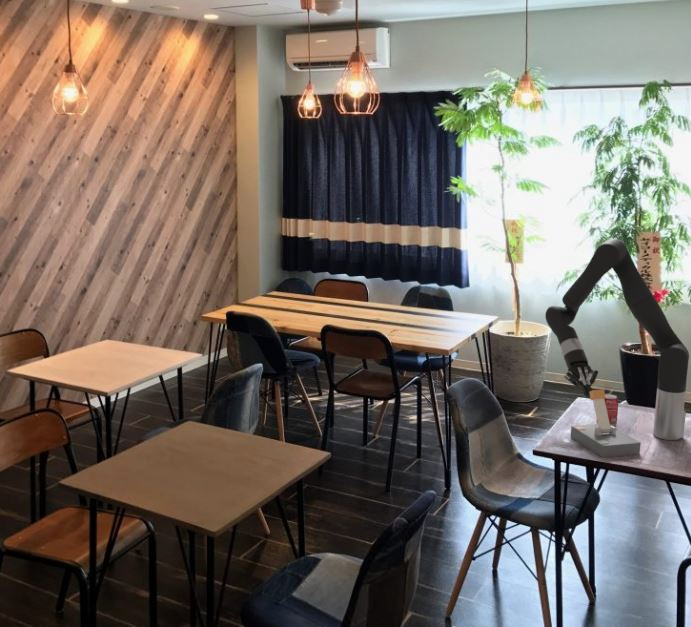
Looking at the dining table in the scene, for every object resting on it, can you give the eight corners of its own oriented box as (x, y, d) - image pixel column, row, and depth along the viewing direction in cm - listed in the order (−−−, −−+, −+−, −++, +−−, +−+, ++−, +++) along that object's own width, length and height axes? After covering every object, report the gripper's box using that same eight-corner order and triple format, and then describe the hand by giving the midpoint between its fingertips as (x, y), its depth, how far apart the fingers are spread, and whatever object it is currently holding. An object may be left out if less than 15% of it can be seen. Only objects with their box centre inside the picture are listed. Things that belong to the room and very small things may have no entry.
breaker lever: (609, 433, 275) (600, 391, 280) (613, 431, 273) (604, 389, 278) (598, 434, 274) (589, 391, 279) (601, 432, 272) (592, 390, 277)
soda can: (600, 423, 298) (603, 391, 295) (619, 427, 293) (622, 395, 291) (592, 427, 292) (595, 396, 290) (611, 432, 288) (614, 400, 286)
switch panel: (605, 433, 286) (607, 416, 285) (639, 454, 267) (641, 435, 266) (570, 436, 283) (571, 419, 281) (602, 457, 264) (603, 439, 262)
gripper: (561, 349, 287) (577, 392, 278) (594, 347, 290) (611, 389, 281) (553, 360, 293) (568, 402, 284) (585, 358, 297) (601, 399, 287)
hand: (589, 395), depth 283 cm, fingers closed
